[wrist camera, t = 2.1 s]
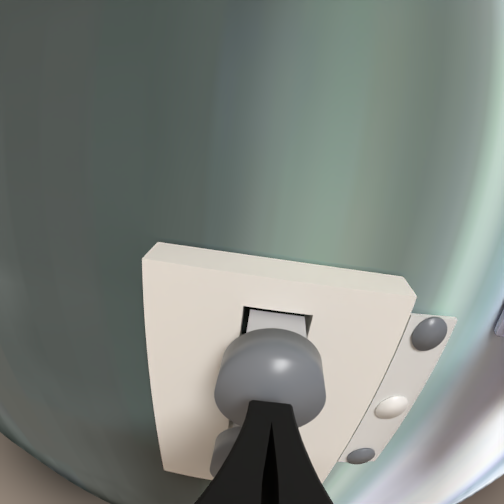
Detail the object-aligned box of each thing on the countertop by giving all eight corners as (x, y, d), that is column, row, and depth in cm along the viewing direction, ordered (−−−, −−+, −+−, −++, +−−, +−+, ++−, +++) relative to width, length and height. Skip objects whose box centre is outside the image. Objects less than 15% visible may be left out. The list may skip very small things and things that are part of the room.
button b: (298, 397, 16) (300, 459, 12) (284, 437, 18) (283, 493, 14) (223, 387, 16) (210, 449, 12) (219, 429, 18) (208, 484, 14)
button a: (326, 303, 14) (339, 366, 10) (306, 370, 15) (310, 436, 11) (233, 290, 14) (217, 351, 10) (226, 360, 15) (212, 424, 12)
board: (403, 276, 15) (417, 296, 13) (317, 470, 22) (317, 489, 20) (157, 241, 15) (142, 258, 13) (169, 451, 22) (163, 470, 20)
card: (456, 315, 15) (459, 320, 15) (373, 458, 21) (374, 463, 20) (409, 311, 15) (413, 316, 15) (336, 459, 21) (337, 464, 20)
